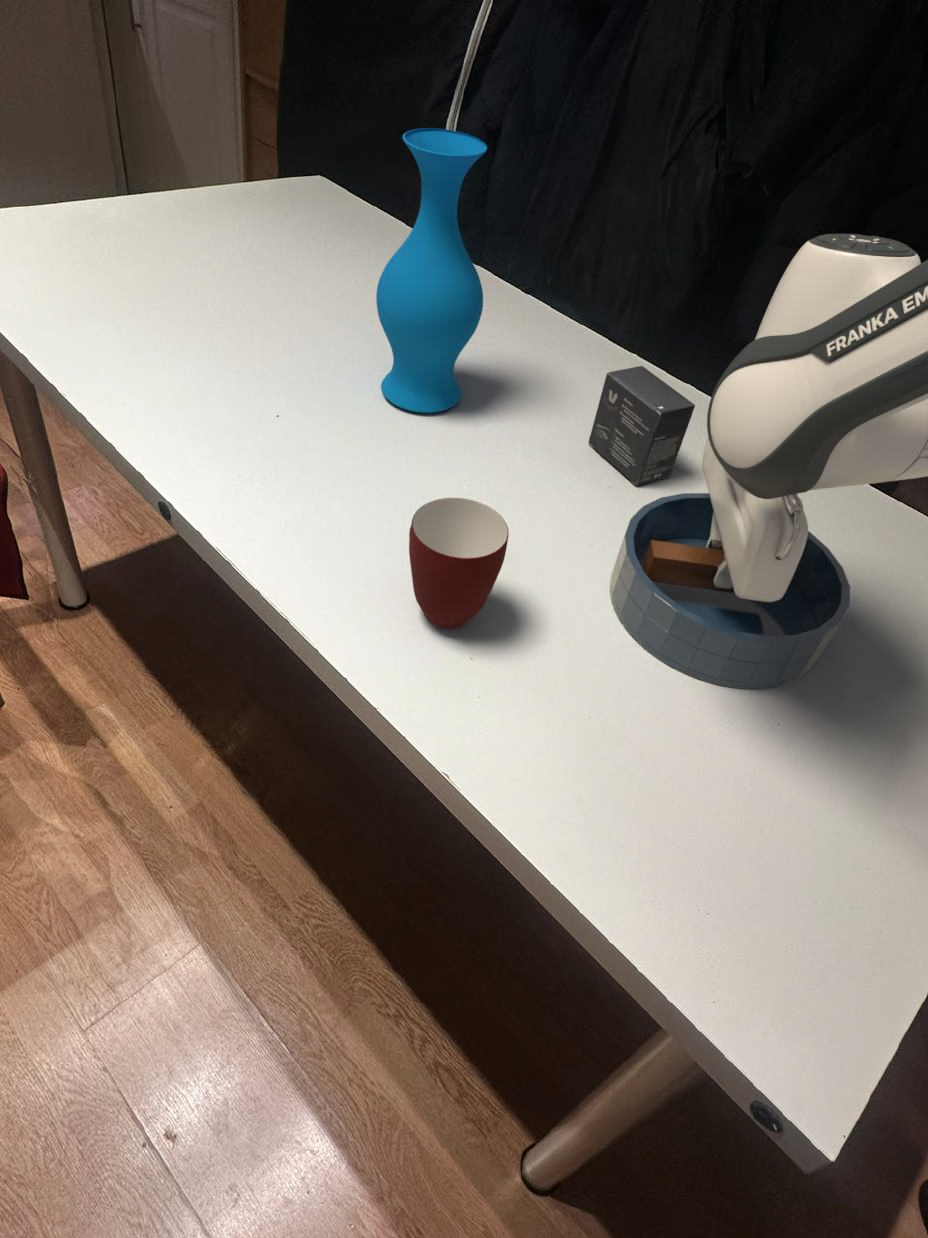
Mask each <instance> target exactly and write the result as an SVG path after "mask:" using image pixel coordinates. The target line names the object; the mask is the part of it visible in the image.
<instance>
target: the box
mask: <svg viewBox="0 0 928 1238" xmlns="http://www.w3.org/2000/svg"><path fill="white" fill-rule="evenodd" d="M695 409H696V405H695V404H694V403H693V402H692V401H691V400H689V399H688V398H686V397H685V396H684V395H682V394H681V393H680V392H678V391H677V390H675V389H674V388H673V387H672V386H670V385H669V384H667V383H666V382H665V381H664V380H662V379H661V378H660V377H658V376H657V375H655V374H654V373H653V372H651V371H650V370H649V369H647V368H646V367H645V366H643V365H640V366H633V367H628V368H623V369H618V370H613V371H609V372H606V376H605V379H604V383H603V387H602V391H601V394H600V397H599V402H598V405H597V409H596V413H595V416H594V420H593V424H592V427H591V431H590V435H589V439H588V443H587V444H588V446H589V447H590V448H592V449H594V450H595V451H597V453H598V454H600V455H601V456H602V457H603V458H604V459H605V460H606V461H608V462H609V463H610V464H611V465H612V466H613V467H615V468H616V469H617V471H619V472H620V473H621V474H623V476H624V477H626V478H627V479H628V480H629V481H630V482H631V484H633V485H634V486H640V485H642V484H646V483H649V482H654V481H657V480H661V479H664V478H668V477H670V476H671V475H672V471H673V469H674V466H675V464H676V461H677V458H678V455H679V452H680V449H681V447H682V444H683V441H684V439H685V436H686V433H687V430H688V427H689V424H690V422H691V419H692V417H693V412H694V410H695Z"/></svg>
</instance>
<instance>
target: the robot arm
mask: <svg viewBox="0 0 928 1238" xmlns="http://www.w3.org/2000/svg"><path fill="white" fill-rule="evenodd" d="M771 296H772V297H771V299H770V301H769V303H768V306H767V308H766V310H765V313H764V315H763V317H762V320H761V322H760V325H759V328H758V330H757V333H756V334H755V338H754V340H752V341H751V342H749V343H747V344H746V345H745V347H744V348H742V350H740V351H739V353H738V354H737V355H735V357H734V358H733V360H732V361H731V362H730V364H728V366H727V368H726V369H725V370H724V371H723V373H722V375H721V376H720V378H719V380H718V382H717V384H716V385H715V387H714V390H713V392H712V395H711V396H710V401H709V404H708V408H707V414H706V415H707V416H706V417H707V418H706V429H707V430H706V432H707V439H706V442H705V446H704V450H703V455H702V472H703V476H704V480H705V483H706V488H707V491H708V492H707V493H709V495H710V499H711V503H712V507H713V511H714V513H713V517H712V524H711V532H710V537H709V540H708V542H707V545H706V548H711V549H718V550H724V553H725V554H724V558H725V560H724V561H723V563H720V562H717V563H716V565H715V568H714V571H713V572H712V577H713V582H714V586H715V587H717V588H724V589H730V588H732V587H733V588H734V592H735V594H736V596H737V597H739V598H742V599H748V600H754V601H762V602H774V601H777V600H779V599H781V598H782V597H783V596H784V594H785V592H786V590H787V588H788V586H789V584H790V581H791V579H792V577H793V575H794V573H795V570H796V568H797V565H798V563H799V561H800V558H801V556H802V553H803V550H804V547H805V544H806V540H807V536H808V531H809V523H808V518H807V516H806V513H805V510H804V504H803V501H802V499H801V498H800V496H799V495H798V494H803V493H807V492H809V491H815V490H825V489H835V488H844V487H853V486H862V485H872V484H879V483H887V482H896V481H903V480H913V479H920V478H926V477H928V259H926V260H925V261H922V262H921V258H920V256H919V255H918V253H917V252H916V251H915V250H914V249H912V248H911V247H910V246H909V245H908V244H905V243H903V242H900V241H898V240H895V239H891V238H886V237H880V236H877V235H865V234H864V235H863V234H860V233H826V234H825V233H824V234H820V235H818V236H816V237H814V238H811V239H809V240H807V241H806V242H805V243H804V244H802V246H801V247H800V248H799V250H798V251H797V252H796V254H794V256H793V258H792V259H791V261H790V262H789V263H788V266H787V267H786V269H785V271H784V273H782V276H781V278H780V280H779V282H778V283H777V286H776V288H775V290H774V292H773V295H771Z"/></svg>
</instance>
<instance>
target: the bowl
mask: <svg viewBox="0 0 928 1238" xmlns="http://www.w3.org/2000/svg"><path fill="white" fill-rule="evenodd" d="M713 513H714V511H713V507H712V503H711V499H710V495H709V492H683V493H678V494H673V495H668V496H662V497H660V498H657V499H655V500H653V501H652V502H651V501H650V502H649V503H646V504H644V505H643V506H641V508H640V509H639V510H638V511H637V512H636V513H635V514H634V515H633V516H632V517H631V518H630V520H629V522H628V525H627V527H626V531H625V533H624V536H623V539H622V541H621V542H622V543H621V545H620V548H619V552H618V554H617V557H616V560H615V563H614V566H613V569H612V572H611V576H610V581H609V595H610V601H611V605H612V606H613V610H614V612H615V614H616V616H617V618H618V620H619V622H620V623H621V624H622V626H623V628H624V629H625V631H627V633H628V634H629V635H630V636H631V637H632V639H633V640H634V641H636V643H638V644H639V645H640V646H641V647H642V648H643V649H644V650H645V651H646V652H648V653H649V654H651V655H652V656H653V657H654V658H656V659H657V660H659V661H661V662H662V663H664V664H665V665H667V666H669V667H670V668H672V669H674V670H676V671H678V672H680V673H683V674H685V675H687V676H690V677H692V678H694V679H697V680H699V681H703V682H707V683H710V684H713V685H717V686H722V687H728V688H736V689H743V690H746V689H749V690H752V689H754V690H755V689H756V690H758V689H760V690H761V689H768V688H774V687H778V686H782V685H786V684H788V683H791V682H793V681H795V680H797V679H799V678H801V677H802V676H804V675H805V674H806V673H807V672H808V671H810V670H811V669H812V668H813V666H814V665H815V664H816V663H817V662H818V660H819V659H820V657H821V655H822V654H823V652H824V651H825V649H826V647H827V646H828V644H829V643H830V641H831V640H832V638H833V636H834V635H835V633H836V631H837V630H838V629H839V628H840V626H841V624H842V622H843V620H844V618H845V616H846V615H847V612H848V611H849V608H850V606H851V586H850V583H849V580H848V578H847V575H846V572H845V570H844V567H843V565H841V563H840V562H839V561H838V560H837V558H836V557H835V555H834V554H833V552H832V551H831V550H830V549H829V547H828V546H827V545H825V544H824V543H823V542H822V541H821V540H820V539H818V538H817V537H816V536H815V535H814V534H813V533H812V532H811V531H810V530H808V536H807V540H806V544H805V547H804V550H803V553H802V556H801V558H800V561H799V563H798V565H797V568H796V570H795V573H794V575H793V578H792V580H791V582H790V584H789V586H788V588H787V590H786V592H785V594H784V596H783V597H782V599H781V600H777V601H774V602H762V601H754V600H748V599H742V598H739V597H737V596H736V594H735V593H728V592H721V591H713V590H706V589H699V588H692V587H685V586H678V585H671V584H664V583H656V582H652V581H651V580H650V578H649V577H648V576H647V575H646V574H645V573H644V571H643V561H644V558H645V555H646V553H647V550H648V547H649V544H650V542H651V540H655V541H663V542H670V543H677V544H684V545H691V546H698V547H705V548H706V545H707V542H708V540H709V537H710V532H711V524H712V517H713Z"/></svg>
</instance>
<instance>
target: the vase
mask: <svg viewBox="0 0 928 1238" xmlns="http://www.w3.org/2000/svg"><path fill="white" fill-rule="evenodd" d="M402 140H403V142H404V143H405V145H406V146H407V148H408V149H409V151H410V153H411V154H412V155H413V157H414V159H415V162H416V164H417V167H418V170H419V173H420V174H419V175H420V180H421V198H420V207H419V211H418V215H417V218H416V220H415V223H414V225H413V227H412V229H411V231H410V233H408V236H407V237H406V239H405V240H404V242H403V243H402V244H401V246H399V248H398V249H397V250H396V251H395V252H394V254H392V256H391V258H390V259H389V260H388V261H387V263H386V265H385V266H384V268H383V270H382V272H381V274H380V277H379V279H378V283H377V287H376V297H375V298H376V299H375V300H376V301H375V302H376V310H377V315H378V319H379V322H380V325H381V327H382V329H383V330H382V331H383V332H384V335H385V336H386V339H387V341H388V343H389V346H390V348H391V352H392V357H393V362H392V367H391V370H390V371H389V372H388V373H387V374H386V375H385V376H384V378H383V379H382V381H381V384H380V390H381V392H382V395H383V396H384V397H385V398H386V399H387V400H388V401H389V402H391V403H392V404H393V405H394V406H397V407H398V408H400V409H403V410H405V411H409V412H413V413H421V414H432V413H433V414H434V413H440V412H443V411H446V410H448V409H450V408H453V407H454V406H455V405H457V404H458V402H459V401H460V400H461V397H462V390H461V387H460V385H459V383H458V381H457V380H456V378H455V366H456V365H455V364H456V363H457V360H458V358H459V356H460V354H461V353H462V351H463V350H464V348H466V346H467V344H468V343H469V341H470V340H471V338H472V337H473V335H474V334H475V332H476V330H477V329H478V326H479V323H480V320H481V317H482V313H483V310H484V309H483V308H484V291H483V286H482V283H481V282H482V281H481V279H480V276H479V273H478V270H477V269H476V267H475V264H474V263H473V261H472V259H471V256H470V255H469V254H468V251H467V250H466V247H465V244H464V242H463V239H462V236H461V233H460V228H459V223H458V203H459V196H460V191H461V187H462V184H463V182H464V179H465V177H466V176H467V173H468V172H469V170H470V168H472V166H473V165H474V164H475V162H476V161H478V159H480V158H481V157H482V156H483V155H484V154H485V153H486V152H487V150H488V146H487V144H486V143H485V142H484V141H482V139H479V138H478V137H475V136H473V135H472V134H471V135H470V134H468V133H464V132H461V131H457V130H451V129H445V128H436V127H435V128H433V127H424V128H422V127H421V128H415V129H410V130H408V131H406V132H405V133H403V135H402Z"/></svg>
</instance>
